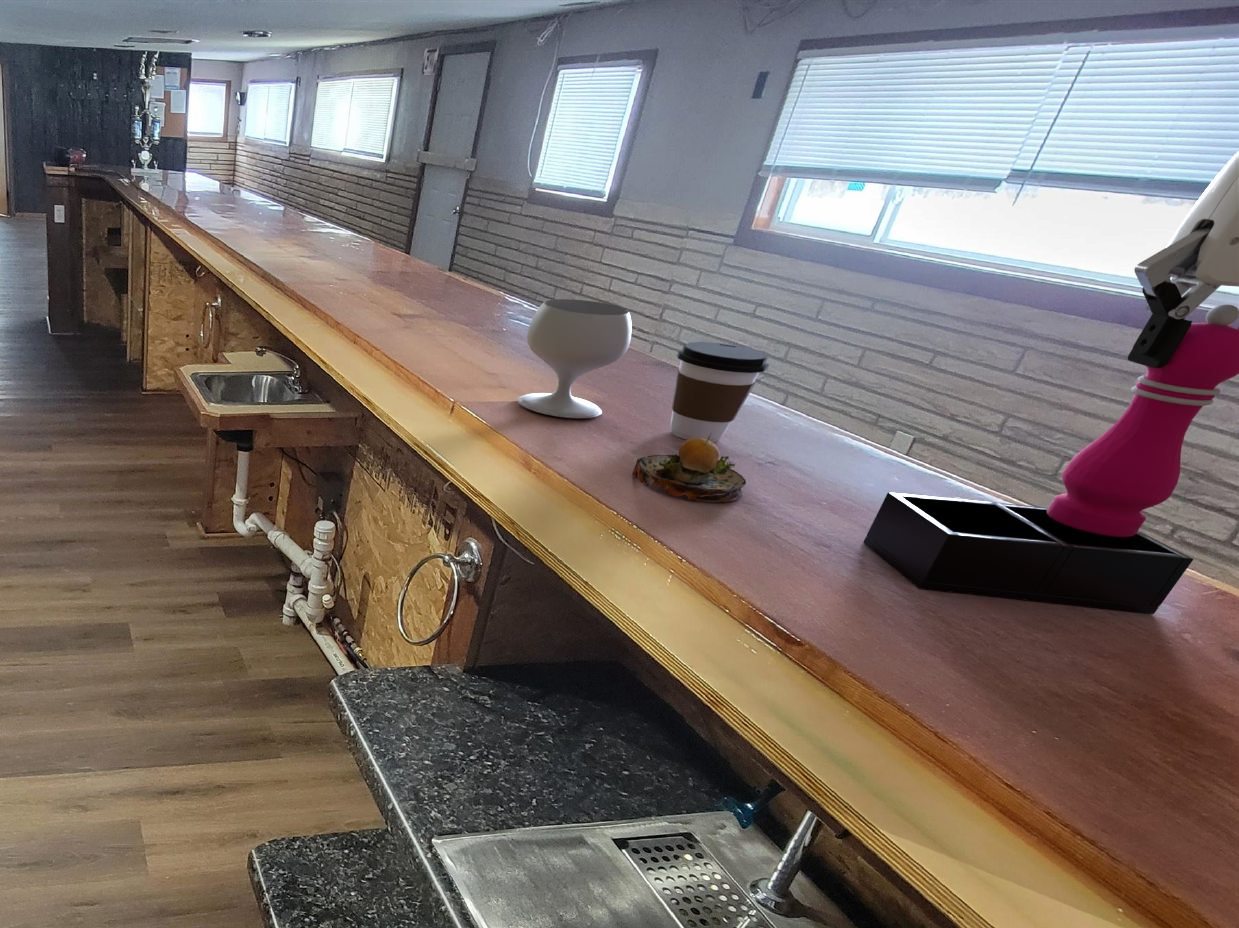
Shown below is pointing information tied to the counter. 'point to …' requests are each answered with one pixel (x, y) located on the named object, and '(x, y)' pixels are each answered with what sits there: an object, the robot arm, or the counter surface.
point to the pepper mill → (1148, 434)
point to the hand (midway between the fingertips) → (1190, 365)
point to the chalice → (575, 349)
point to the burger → (692, 472)
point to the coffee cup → (712, 387)
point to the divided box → (1020, 554)
